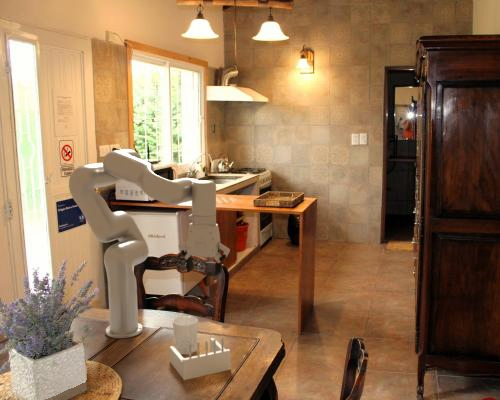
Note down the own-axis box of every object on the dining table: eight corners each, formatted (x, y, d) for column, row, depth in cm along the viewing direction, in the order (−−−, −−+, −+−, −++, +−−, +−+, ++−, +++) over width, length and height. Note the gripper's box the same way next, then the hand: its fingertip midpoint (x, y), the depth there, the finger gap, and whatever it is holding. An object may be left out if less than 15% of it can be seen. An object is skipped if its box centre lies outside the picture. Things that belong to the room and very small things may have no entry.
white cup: (194, 356, 169) (193, 326, 167) (170, 354, 170) (169, 324, 169) (201, 346, 177) (200, 316, 175) (178, 344, 178) (177, 315, 177)
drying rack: (170, 362, 165) (169, 330, 164) (213, 352, 171) (213, 322, 170) (184, 380, 154) (183, 346, 152) (230, 369, 160) (230, 337, 159)
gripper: (173, 219, 170) (174, 272, 172) (225, 224, 164) (224, 278, 167) (184, 215, 177) (184, 266, 179) (233, 219, 171) (233, 272, 174)
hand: (203, 272), depth 173 cm, fingers open, 9 cm apart
